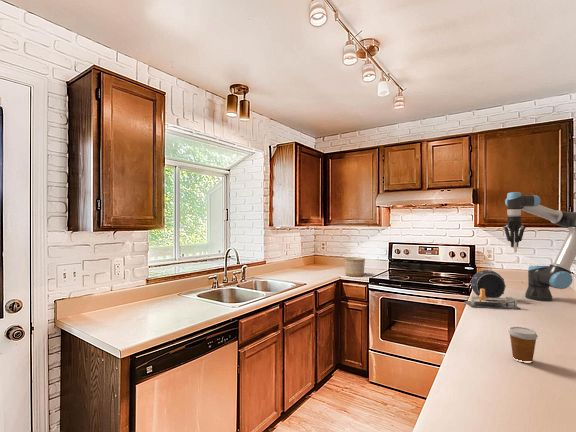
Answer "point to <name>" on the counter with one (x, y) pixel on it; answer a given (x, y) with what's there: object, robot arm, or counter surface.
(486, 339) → the counter surface
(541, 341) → the counter surface
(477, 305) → the bolt plate
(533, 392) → the counter surface
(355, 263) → the planter
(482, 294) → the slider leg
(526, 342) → the disposable coffee cup
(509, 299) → the grey slide rail
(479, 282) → the studded round pot
